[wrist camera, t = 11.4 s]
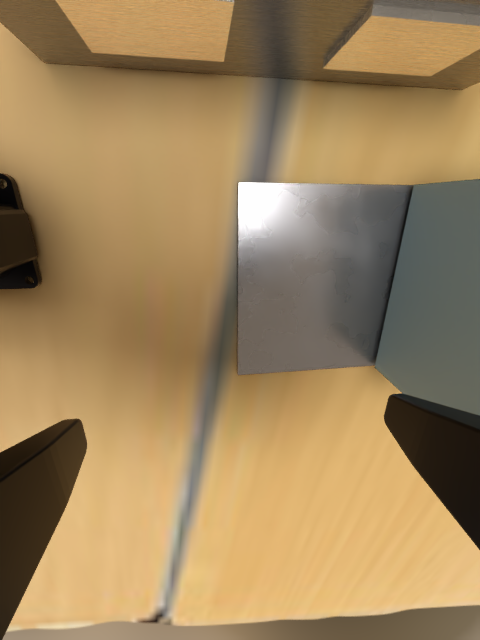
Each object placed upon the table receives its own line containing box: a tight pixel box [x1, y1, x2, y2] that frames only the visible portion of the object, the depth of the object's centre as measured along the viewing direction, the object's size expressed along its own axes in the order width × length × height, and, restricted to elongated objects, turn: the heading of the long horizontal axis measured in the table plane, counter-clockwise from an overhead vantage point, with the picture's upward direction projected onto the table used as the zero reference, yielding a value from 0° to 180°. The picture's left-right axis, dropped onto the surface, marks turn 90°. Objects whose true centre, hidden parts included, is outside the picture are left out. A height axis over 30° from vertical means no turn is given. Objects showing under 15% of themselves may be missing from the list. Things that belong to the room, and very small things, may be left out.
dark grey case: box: [0, 0, 480, 375], centre depth 14 cm, size 30×25×12 cm
